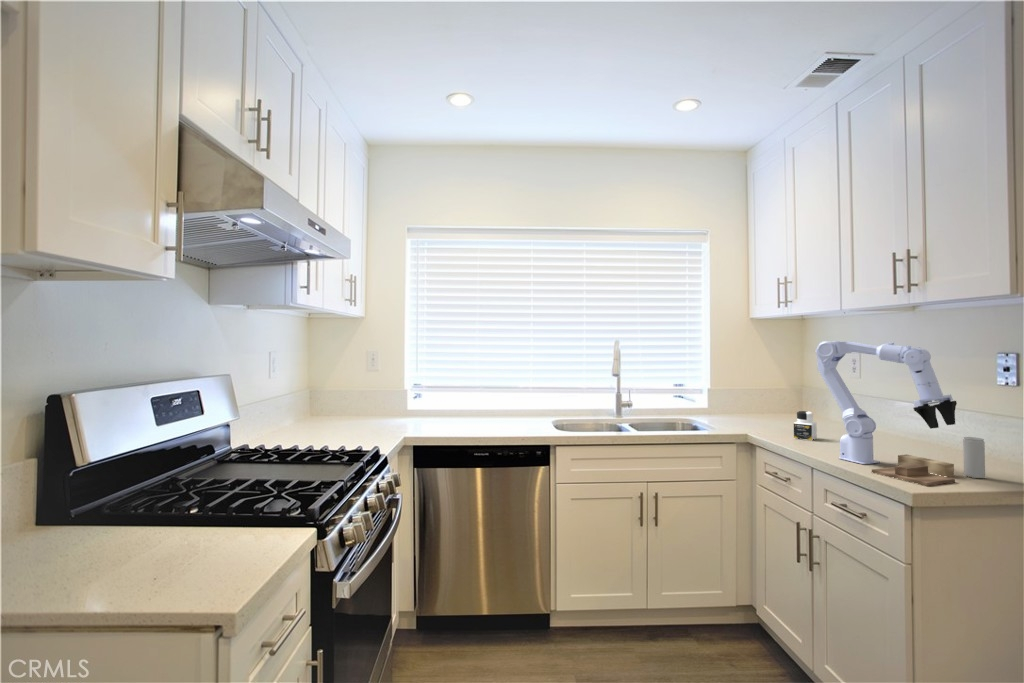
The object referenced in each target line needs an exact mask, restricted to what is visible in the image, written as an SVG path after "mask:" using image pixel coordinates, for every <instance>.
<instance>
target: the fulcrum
mask: <svg viewBox="0 0 1024 683" xmlns="http://www.w3.org/2000/svg"><path fill="white" fill-rule="evenodd" d="M872 472H873V473H872ZM871 473H872V474H875V473H877V474H876V475H879V474H881V475H880V476H883V475H885V476H884V477H887V476H889V477H888V478H891V477H894V478H893V479H895V478H898V479H897V480H899V479H903V480H906V481H905V482H907V481H910V482H909V483H911V482H914V483H913V484H915V483H918V484H917V485H919V484H921V485H920V486H923V485H925V487H930V486H929V485H932V486H936V485H935V484H940V485H944V484H943V483H947V484H952V483H951V482H954V483H956V479H955V478H953V477H944V476H939V475H935V474H930V473H928V466H925V465H920V464H908V465H899V466H898V465H895V466H891V467H883V468H873V469H871ZM903 480H902V481H903Z"/></svg>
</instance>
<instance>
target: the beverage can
mask: <svg viewBox="0 0 1024 683" xmlns="http://www.w3.org/2000/svg"><path fill="white" fill-rule="evenodd" d="M984 440H985V439H984V438H981V437H972V436H964V437H963V439H962V449H963V450H962V451H963V452H962V453H963V454H962V455H963V461H962V462H963V474H964V476H965V477H967V476H968V477H967V478H969V477H972V478H971V479H975V478H983V479H985V477H986V452H985V450H986V448H985V446H986V445H985V444H986V443H985V442H986V441H984Z"/></svg>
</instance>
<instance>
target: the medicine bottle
mask: <svg viewBox="0 0 1024 683" xmlns="http://www.w3.org/2000/svg"><path fill="white" fill-rule="evenodd" d="M813 413H814V412H812V411H809V410H808V411H806V410H800V411H797V412H796V421H795V422H793V439H794V438H800V439H799V440H801V439H807V440H806V441H809V440H812V441H814V440H816V439H818V434H817V432H818V429H817V425H818V424H817V422H816V421H814V414H813ZM813 439H814V440H813Z"/></svg>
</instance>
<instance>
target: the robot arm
mask: <svg viewBox="0 0 1024 683" xmlns="http://www.w3.org/2000/svg"><path fill="white" fill-rule="evenodd" d="M814 353H815V354H816V362H817V365H816V366H817V367H816V368H817V371H818V372H819V375H820V376H821V377H822V379H823V381H824V384H826V386H827V387H828V390H829V391H830V394H831V395H832V397H833V398H834V399H835V401H836V403H837V405H838V407H839V408H840V410H841V412H842V418H841V419H842V421H843V423H844V430H845V431H846V433H845V434H843V435H842V436H841V437H840V440H839V457H838V459H840V460H844V461H847V462H853V463H857V464H861V465H870V464H879V462H880V463H881V461H880V460H876V459H874V435H873V433H874V432H875V431H876V428H877V423H876V422H875V420H874V419H873V418H872V417H871V416H869V415H868V414H867V412H866V411H865V410H863V408H861V407H860V406H859V405H858V403H857V401H856V399H855V398H854V397H853V394H852V392H850V390H849V388H848V386H847V385H846V382H845V381H844V380H843V378H842V376H841V374H840V373H839V371H838V370H837V367H838V364H839V362H840V361H841V360H842V359H843V358H844V356H846V354H851V353H859V354H866V355H872V356H876V357H878V358H879V360H881V361H886V362H893V363H897V364H898V363H899V364H904V365H906V366H908V370H909V371H910V374H911V377H912V380H913V383H914V385H915V388H916V391H917V393H918V396H919V398H920V399H916V400H913V401H912V403H913V405H914V407H913V408H912V409H913V412H916V413H917V414H918V415H919V416H920V417H921V418H922V419H923V421H924V422H925V423H926V425H927V426H928V427H929V429H937V428H939V427H940V426H939V421H938V418H937V414H936V410H937V411H938V413H940V415H941V417H942V420H943V421H944V422H945V424H946V426H951V425H952V426H953V425H956V407H957V404H958V403H957V400H954V399H953V396H952V395H951V394H946V395H944V394H943V391H942V389H941V385H940V384H939V380H938V379H937V376H936V373H935V370H934V368H933V366H932V364H931V357H932V356H931V353H930V352H929V350H927V349H925V348H922V347H913V348H912V345H908V344H907V345H905V346H904V345H897V344H895V342H887V343H883V344H881V345H873V344H868V343H862V342H857V341H847V340H846V341H843V340H833V341H830V340H823V341H820V342H819V344H818V345H817V347H816V349H815V351H814Z"/></svg>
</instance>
